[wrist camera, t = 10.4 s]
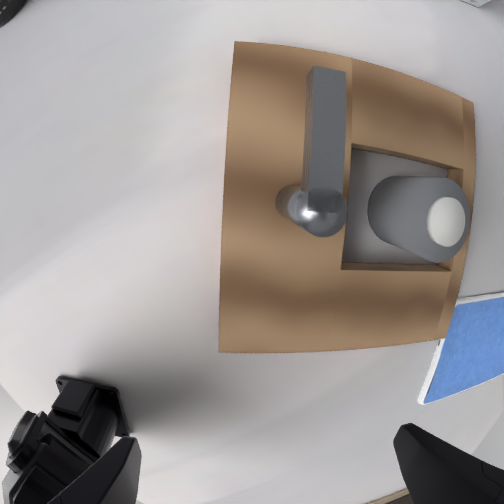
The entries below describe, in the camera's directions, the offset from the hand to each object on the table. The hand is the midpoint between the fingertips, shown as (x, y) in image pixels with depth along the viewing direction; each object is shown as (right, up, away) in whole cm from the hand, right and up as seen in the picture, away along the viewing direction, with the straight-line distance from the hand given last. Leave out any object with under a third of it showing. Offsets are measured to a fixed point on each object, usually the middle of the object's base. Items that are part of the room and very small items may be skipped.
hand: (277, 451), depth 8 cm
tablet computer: (+26, -4, +17) cm, 32 cm away
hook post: (+2, +12, +9) cm, 15 cm away
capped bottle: (+10, +9, +12) cm, 18 cm away
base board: (+7, +9, +12) cm, 17 cm away
